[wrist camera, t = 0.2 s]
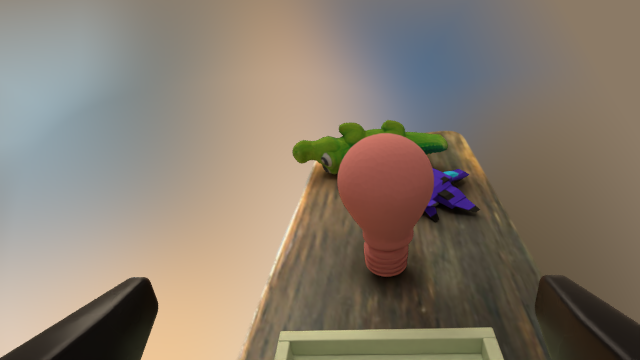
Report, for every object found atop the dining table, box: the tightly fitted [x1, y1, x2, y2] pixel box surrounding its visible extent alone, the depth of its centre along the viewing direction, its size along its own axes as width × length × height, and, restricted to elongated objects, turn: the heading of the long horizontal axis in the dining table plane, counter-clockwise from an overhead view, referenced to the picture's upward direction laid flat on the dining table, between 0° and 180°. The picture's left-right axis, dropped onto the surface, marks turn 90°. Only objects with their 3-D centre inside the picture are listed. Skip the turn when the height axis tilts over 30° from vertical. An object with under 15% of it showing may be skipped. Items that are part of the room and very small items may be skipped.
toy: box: [293, 120, 448, 174], centre depth 48 cm, size 9×18×5 cm
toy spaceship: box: [424, 168, 480, 222], centre depth 41 cm, size 10×9×2 cm
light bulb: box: [338, 133, 434, 277], centre depth 30 cm, size 7×7×12 cm
